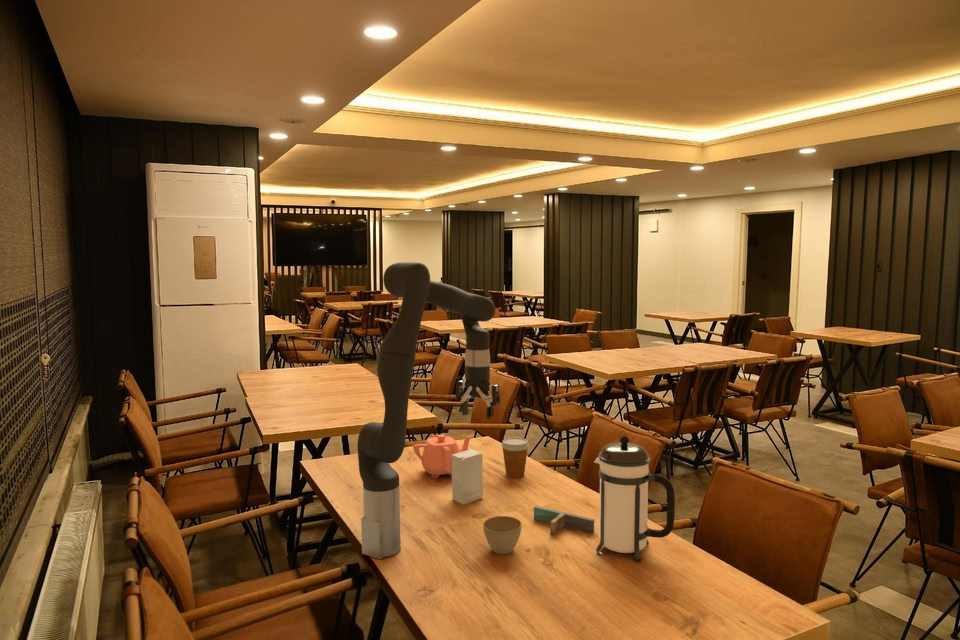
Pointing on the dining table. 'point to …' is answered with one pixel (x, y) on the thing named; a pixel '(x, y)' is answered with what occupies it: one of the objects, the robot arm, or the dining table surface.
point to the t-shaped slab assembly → (563, 520)
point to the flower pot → (502, 533)
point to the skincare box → (467, 476)
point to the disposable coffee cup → (515, 456)
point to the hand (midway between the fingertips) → (477, 416)
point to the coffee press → (628, 499)
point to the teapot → (439, 454)
